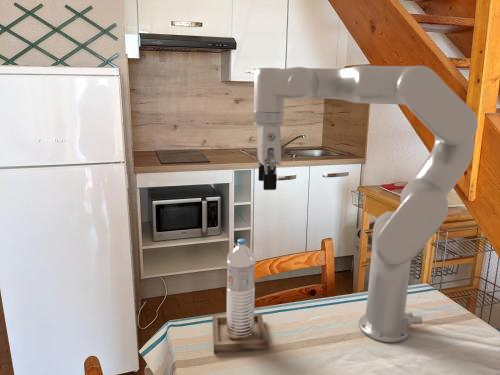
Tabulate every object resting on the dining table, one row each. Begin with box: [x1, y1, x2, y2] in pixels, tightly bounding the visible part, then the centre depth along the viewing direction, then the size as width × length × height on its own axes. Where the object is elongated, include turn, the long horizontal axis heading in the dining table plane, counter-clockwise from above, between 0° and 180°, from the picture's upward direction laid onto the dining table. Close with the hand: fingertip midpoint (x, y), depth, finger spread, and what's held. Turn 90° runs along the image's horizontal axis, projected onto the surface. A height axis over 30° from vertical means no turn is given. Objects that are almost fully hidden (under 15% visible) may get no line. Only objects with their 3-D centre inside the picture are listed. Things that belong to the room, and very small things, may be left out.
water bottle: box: [226, 238, 256, 340], centre depth 105 cm, size 7×7×25 cm
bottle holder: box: [212, 312, 270, 354], centre depth 108 cm, size 13×13×2 cm
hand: (266, 184), depth 112 cm, fingers open, 9 cm apart
